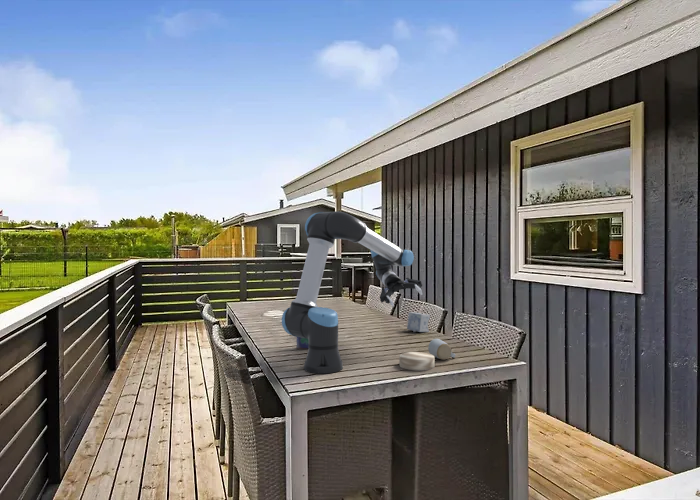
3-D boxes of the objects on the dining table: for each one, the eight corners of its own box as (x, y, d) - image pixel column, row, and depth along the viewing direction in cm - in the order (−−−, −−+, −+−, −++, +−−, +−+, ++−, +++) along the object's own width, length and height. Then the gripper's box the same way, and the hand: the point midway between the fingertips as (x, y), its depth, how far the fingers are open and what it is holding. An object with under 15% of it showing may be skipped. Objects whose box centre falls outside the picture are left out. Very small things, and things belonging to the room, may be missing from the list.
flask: (295, 348, 218) (295, 325, 218) (297, 347, 221) (297, 324, 221) (315, 349, 217) (315, 326, 216) (316, 348, 220) (316, 325, 219)
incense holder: (430, 332, 256) (430, 312, 255) (420, 334, 250) (420, 314, 250) (416, 329, 263) (416, 310, 263) (406, 331, 258) (406, 312, 258)
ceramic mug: (437, 361, 195) (437, 342, 195) (427, 356, 203) (428, 338, 203) (459, 359, 199) (459, 341, 199) (449, 354, 206) (449, 337, 206)
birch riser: (421, 373, 179) (421, 362, 179) (392, 366, 189) (392, 356, 189) (441, 365, 190) (441, 355, 189) (412, 359, 199) (412, 350, 199)
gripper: (417, 278, 226) (435, 294, 206) (370, 298, 223) (383, 316, 203) (413, 265, 224) (430, 279, 204) (365, 284, 221) (378, 301, 201)
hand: (407, 298), depth 204 cm, fingers open, 13 cm apart
